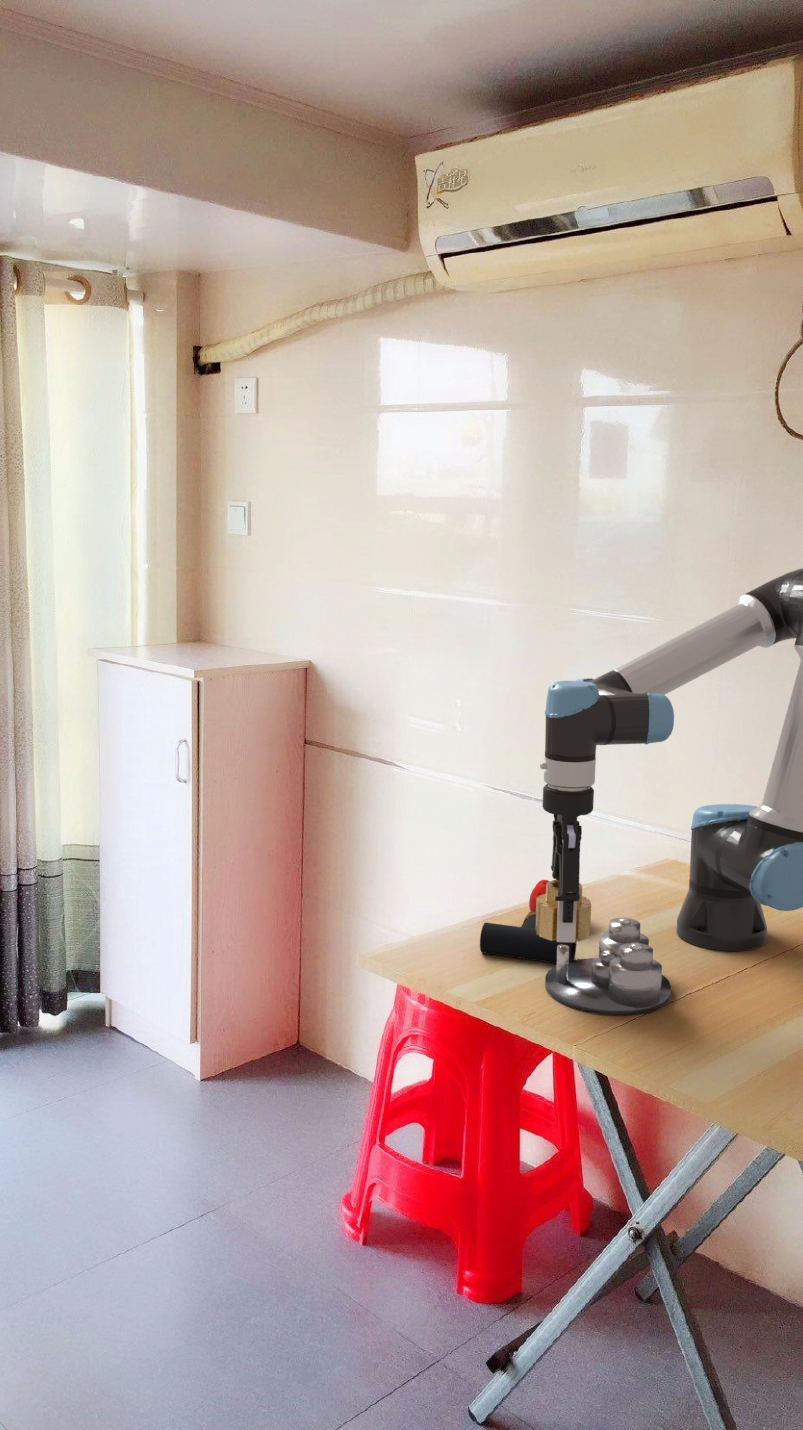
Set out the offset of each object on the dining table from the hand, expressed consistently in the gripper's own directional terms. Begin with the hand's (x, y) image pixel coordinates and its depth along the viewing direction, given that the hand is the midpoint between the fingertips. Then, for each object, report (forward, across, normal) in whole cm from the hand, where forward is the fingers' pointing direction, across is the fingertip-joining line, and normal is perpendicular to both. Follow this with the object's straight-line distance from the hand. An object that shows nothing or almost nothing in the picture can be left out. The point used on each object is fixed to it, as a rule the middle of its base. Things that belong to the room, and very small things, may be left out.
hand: (562, 931), depth 177 cm
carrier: (+9, 0, +7) cm, 12 cm away
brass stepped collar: (0, 0, 0) cm, 0 cm away
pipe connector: (+10, -16, -3) cm, 19 cm away
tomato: (+9, -29, +2) cm, 31 cm away
